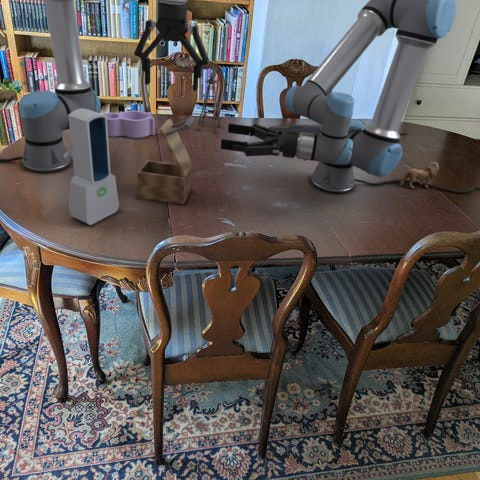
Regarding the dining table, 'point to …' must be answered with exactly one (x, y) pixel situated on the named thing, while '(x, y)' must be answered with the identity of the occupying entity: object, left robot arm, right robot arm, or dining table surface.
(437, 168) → the lion figurine
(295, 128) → the rounded dark grey slab
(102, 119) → the electronic device
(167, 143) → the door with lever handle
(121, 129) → the purple wavy organizer
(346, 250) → the dining table surface
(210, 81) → the miniature windmill
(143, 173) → the chest
